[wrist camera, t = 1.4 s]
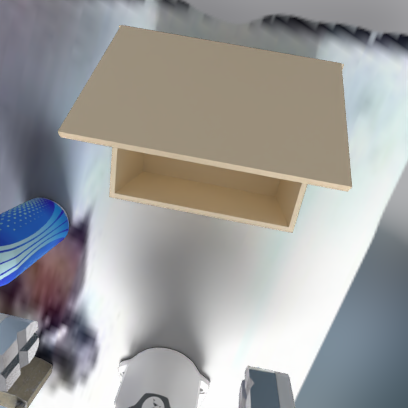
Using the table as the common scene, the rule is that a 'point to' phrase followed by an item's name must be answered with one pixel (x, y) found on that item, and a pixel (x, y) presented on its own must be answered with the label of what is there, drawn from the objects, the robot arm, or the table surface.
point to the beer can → (29, 235)
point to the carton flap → (217, 107)
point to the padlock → (27, 384)
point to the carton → (205, 189)
